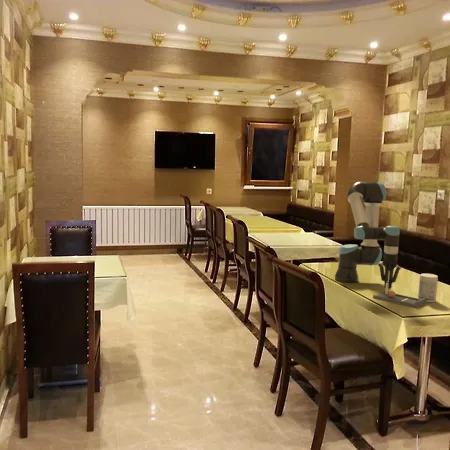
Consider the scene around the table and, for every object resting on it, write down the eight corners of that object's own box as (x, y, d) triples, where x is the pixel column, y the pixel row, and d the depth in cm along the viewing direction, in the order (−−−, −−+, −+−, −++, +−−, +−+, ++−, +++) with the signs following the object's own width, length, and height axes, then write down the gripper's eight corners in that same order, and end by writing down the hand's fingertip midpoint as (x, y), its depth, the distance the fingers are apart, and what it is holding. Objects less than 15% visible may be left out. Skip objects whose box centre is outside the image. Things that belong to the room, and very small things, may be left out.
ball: (391, 290, 270) (394, 296, 269) (394, 289, 273) (398, 295, 272) (385, 293, 273) (389, 299, 272) (389, 292, 276) (392, 298, 274)
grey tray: (372, 297, 273) (373, 292, 273) (383, 293, 283) (383, 288, 283) (416, 307, 256) (416, 302, 256) (426, 303, 266) (426, 297, 266)
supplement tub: (421, 297, 279) (423, 272, 277) (438, 300, 272) (440, 275, 270) (415, 300, 272) (417, 274, 270) (432, 303, 265) (434, 278, 263)
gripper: (376, 252, 273) (373, 292, 276) (398, 255, 264) (395, 297, 267) (382, 250, 278) (379, 290, 281) (404, 254, 269) (401, 294, 272)
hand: (387, 293), depth 274 cm, fingers closed
